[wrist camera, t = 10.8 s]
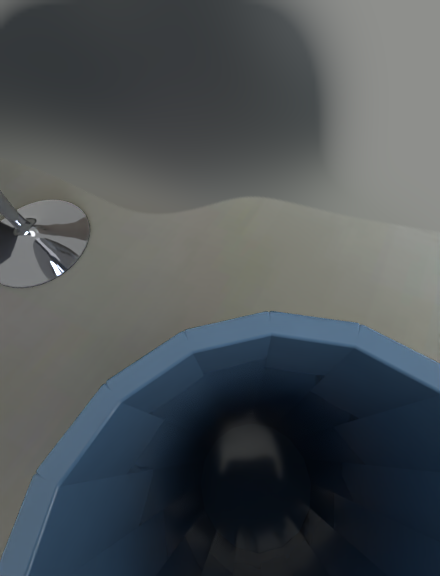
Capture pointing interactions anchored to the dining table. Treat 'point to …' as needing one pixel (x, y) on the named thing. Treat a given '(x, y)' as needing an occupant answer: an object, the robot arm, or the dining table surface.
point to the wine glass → (40, 241)
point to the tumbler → (246, 460)
